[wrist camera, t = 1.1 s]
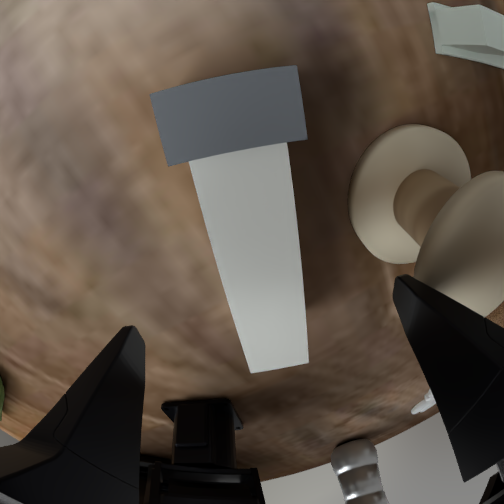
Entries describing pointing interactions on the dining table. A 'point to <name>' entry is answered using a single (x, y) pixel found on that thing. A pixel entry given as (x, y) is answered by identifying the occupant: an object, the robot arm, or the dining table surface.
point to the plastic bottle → (358, 472)
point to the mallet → (246, 198)
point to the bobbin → (432, 214)
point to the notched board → (468, 33)
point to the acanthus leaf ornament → (424, 403)
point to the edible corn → (1, 397)
